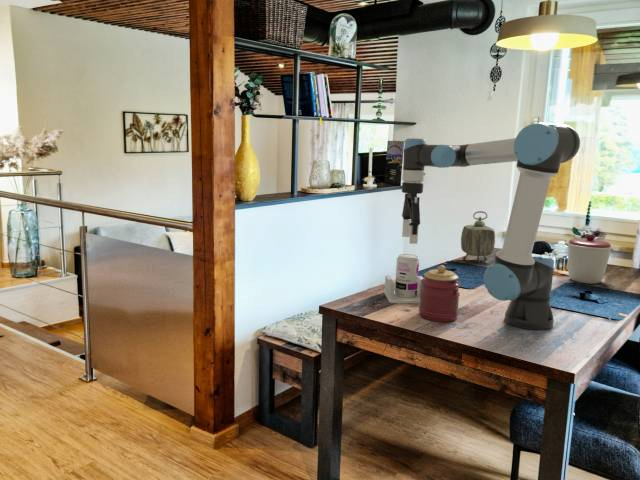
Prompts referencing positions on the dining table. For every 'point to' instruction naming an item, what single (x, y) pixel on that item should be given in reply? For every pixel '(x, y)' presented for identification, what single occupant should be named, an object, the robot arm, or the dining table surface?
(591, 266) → the canister
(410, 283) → the supplement can
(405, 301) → the can holder
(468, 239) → the tabletop clock
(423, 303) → the canister
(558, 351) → the dining table surface
